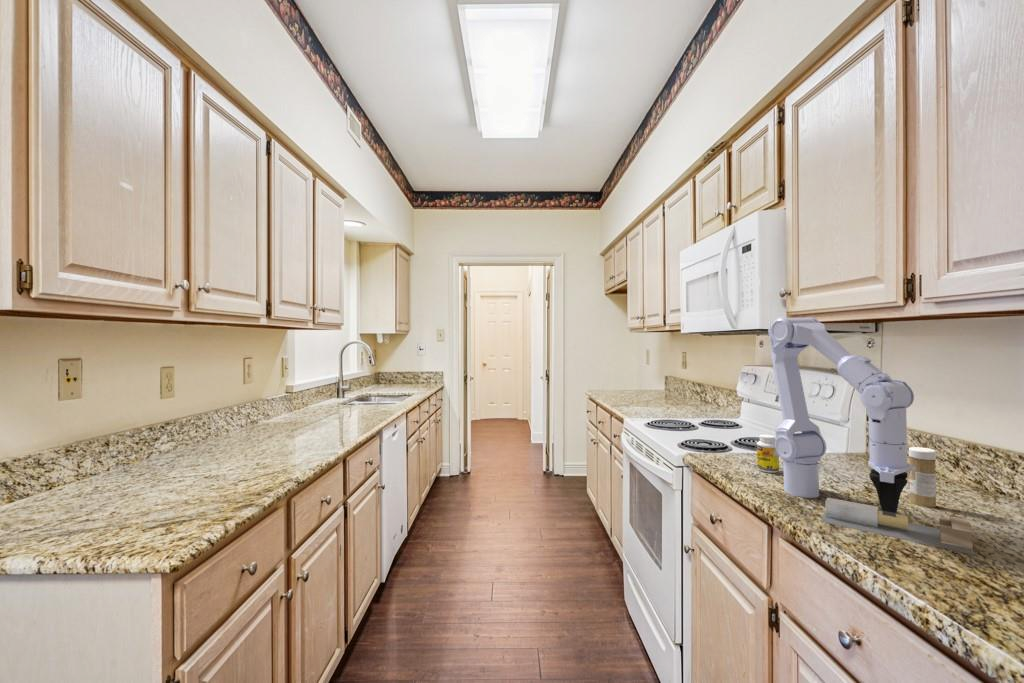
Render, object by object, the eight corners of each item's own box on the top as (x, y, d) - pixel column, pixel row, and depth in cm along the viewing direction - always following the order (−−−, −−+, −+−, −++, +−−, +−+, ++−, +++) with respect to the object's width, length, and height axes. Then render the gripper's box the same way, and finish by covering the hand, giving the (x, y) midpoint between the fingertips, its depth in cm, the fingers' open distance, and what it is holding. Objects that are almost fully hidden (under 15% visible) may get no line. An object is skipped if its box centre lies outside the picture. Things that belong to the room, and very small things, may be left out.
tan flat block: (830, 510, 94) (829, 479, 94) (908, 526, 86) (907, 491, 86) (828, 513, 93) (828, 481, 93) (908, 529, 84) (907, 494, 84)
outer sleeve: (827, 512, 95) (827, 497, 95) (878, 522, 89) (878, 506, 89) (825, 516, 93) (825, 501, 93) (877, 527, 87) (877, 511, 87)
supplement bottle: (753, 469, 129) (752, 435, 129) (765, 466, 131) (764, 433, 131) (771, 474, 124) (770, 438, 124) (783, 471, 126) (782, 436, 126)
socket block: (939, 533, 84) (939, 514, 84) (969, 539, 81) (969, 520, 81) (941, 542, 80) (940, 523, 80) (972, 549, 77) (972, 529, 77)
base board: (827, 511, 98) (827, 506, 98) (968, 539, 83) (968, 534, 83) (820, 526, 90) (820, 521, 90) (974, 560, 76) (974, 554, 76)
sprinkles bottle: (909, 502, 101) (908, 445, 101) (937, 507, 98) (936, 448, 98) (909, 508, 98) (908, 449, 98) (937, 514, 95) (936, 452, 95)
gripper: (915, 452, 79) (916, 526, 79) (914, 437, 89) (916, 503, 90) (865, 446, 84) (866, 516, 84) (870, 433, 94) (871, 495, 94)
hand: (889, 509), depth 87 cm, fingers closed on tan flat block, 2 cm apart
